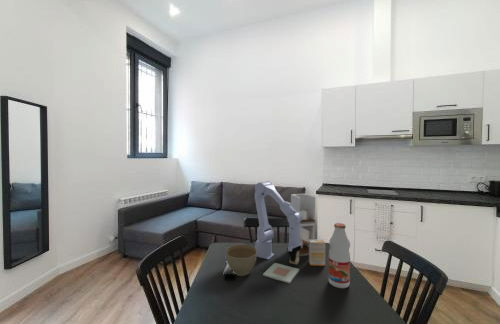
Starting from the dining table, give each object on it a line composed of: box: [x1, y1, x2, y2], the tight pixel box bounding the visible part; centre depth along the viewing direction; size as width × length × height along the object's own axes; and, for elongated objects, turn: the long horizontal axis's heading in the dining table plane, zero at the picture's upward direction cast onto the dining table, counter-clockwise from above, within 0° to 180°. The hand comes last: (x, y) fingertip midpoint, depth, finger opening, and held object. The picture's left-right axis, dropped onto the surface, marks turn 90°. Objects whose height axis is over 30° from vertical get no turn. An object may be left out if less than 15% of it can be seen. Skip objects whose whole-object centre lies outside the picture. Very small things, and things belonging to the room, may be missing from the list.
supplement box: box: [308, 238, 326, 267], centre depth 130 cm, size 8×5×13 cm, turn 84°
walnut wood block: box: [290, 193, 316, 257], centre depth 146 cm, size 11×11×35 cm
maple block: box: [289, 251, 300, 265], centre depth 129 cm, size 4×4×6 cm
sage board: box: [262, 262, 300, 284], centre depth 121 cm, size 14×14×1 cm
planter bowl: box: [225, 244, 257, 277], centre depth 122 cm, size 16×16×11 cm
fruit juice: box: [328, 222, 351, 289], centre depth 111 cm, size 9×9×28 cm
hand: (294, 259), depth 129 cm, fingers closed on maple block, 4 cm apart
